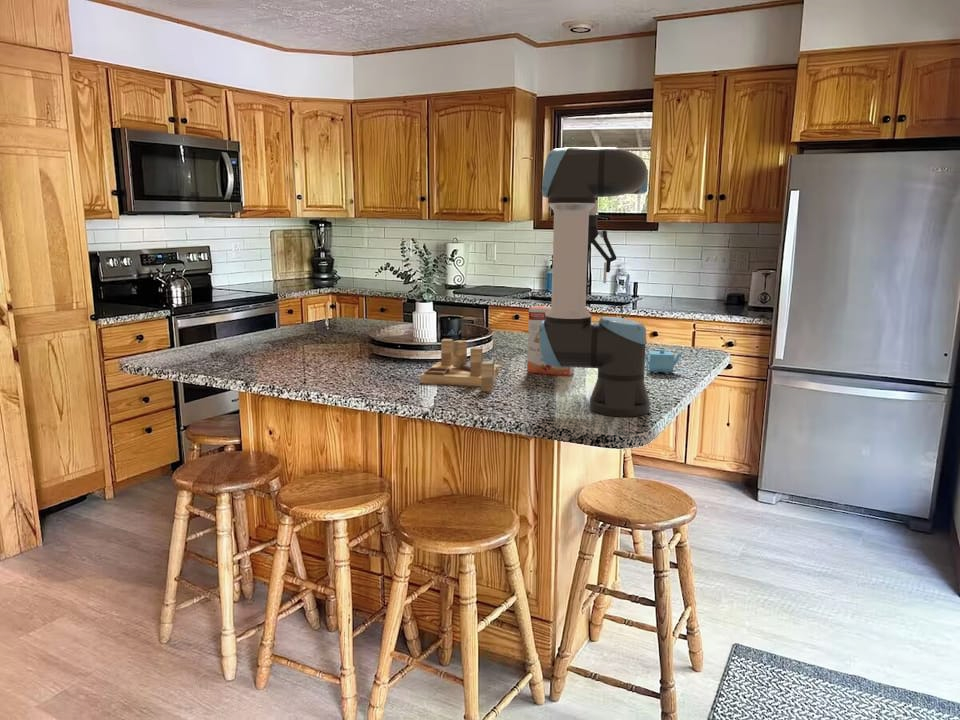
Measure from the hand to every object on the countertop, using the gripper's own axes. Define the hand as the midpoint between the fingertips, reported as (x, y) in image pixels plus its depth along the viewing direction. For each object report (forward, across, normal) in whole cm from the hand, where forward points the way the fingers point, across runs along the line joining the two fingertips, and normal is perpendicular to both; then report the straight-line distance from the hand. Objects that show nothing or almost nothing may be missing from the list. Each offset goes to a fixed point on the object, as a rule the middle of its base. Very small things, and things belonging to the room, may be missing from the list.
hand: (583, 282), depth 227 cm
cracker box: (+28, +8, +9) cm, 31 cm away
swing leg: (+25, +32, +22) cm, 46 cm away
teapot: (+28, -26, 0) cm, 39 cm away
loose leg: (+28, +23, +36) cm, 51 cm away
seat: (+28, +34, +22) cm, 50 cm away
